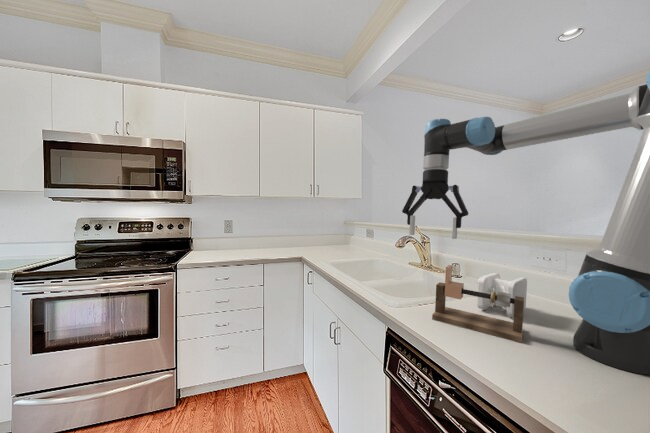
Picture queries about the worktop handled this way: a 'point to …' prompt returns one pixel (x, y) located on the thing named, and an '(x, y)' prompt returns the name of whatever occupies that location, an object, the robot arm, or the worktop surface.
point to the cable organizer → (498, 285)
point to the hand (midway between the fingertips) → (432, 236)
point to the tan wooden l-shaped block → (452, 285)
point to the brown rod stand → (479, 321)
